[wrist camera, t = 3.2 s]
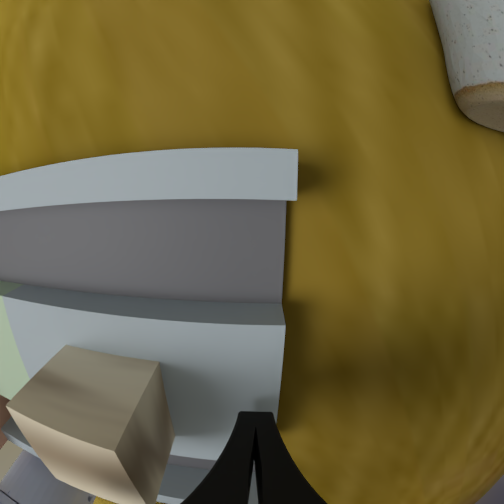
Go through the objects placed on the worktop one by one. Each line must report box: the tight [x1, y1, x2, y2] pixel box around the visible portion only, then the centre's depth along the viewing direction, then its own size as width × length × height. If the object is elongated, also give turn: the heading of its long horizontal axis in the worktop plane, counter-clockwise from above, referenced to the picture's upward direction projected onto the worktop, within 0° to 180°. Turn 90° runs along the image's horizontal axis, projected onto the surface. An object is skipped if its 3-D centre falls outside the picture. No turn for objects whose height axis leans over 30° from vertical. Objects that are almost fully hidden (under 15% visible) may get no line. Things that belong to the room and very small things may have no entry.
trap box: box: [0, 148, 298, 504], centre depth 11 cm, size 21×24×6 cm
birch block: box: [6, 345, 175, 504], centre depth 9 cm, size 5×5×5 cm
